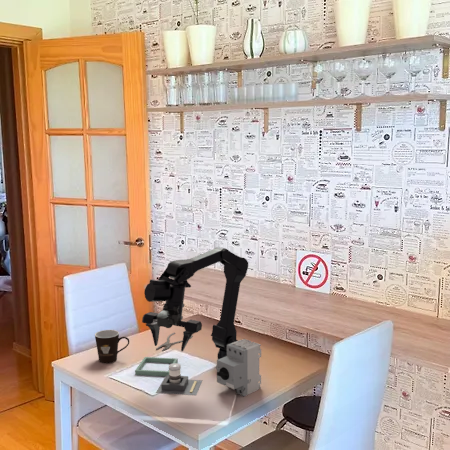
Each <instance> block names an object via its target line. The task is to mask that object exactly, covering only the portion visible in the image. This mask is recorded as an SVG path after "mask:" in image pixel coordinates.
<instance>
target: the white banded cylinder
mask: <svg viewBox="0 0 450 450" xmlns="http://www.w3.org/2000/svg"><path fill="white" fill-rule="evenodd" d="M168 370H169V383H173V384H181V376H182V375H181V374H182V373H181V370H182V367H181V364H180V363H179V362H178V363H173V364H172V363H169V365H168Z"/></svg>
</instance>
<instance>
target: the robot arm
mask: <svg viewBox="0 0 450 450" xmlns="http://www.w3.org/2000/svg"><path fill="white" fill-rule="evenodd" d="M217 263H220V264H221V265H223V274H224V277H225V286H224V287H225V288H224V293H223V299H222V305H221V312H220V319H219V321H218V322H217V323H216V324H213V326H212V330H211V334H210V336H211V341H212V342H213V344H214V346H215V348H218V352H217V360H218V359H221V358H223V357H226V356H227V345H228V344H231V343H233V342H236V341H239V340H238V338H237V329H236V326H235V317H236V311H237V305H238V298H239V294H240V293H239V292H240V287H241V282H242V281H243V280H244V278H246V276H247V273H248V269H249V262H248V260H247V259H246V258H245V257H242V256H239V255H236V254H235V253H233V252H231V251H230V250H229V249H227V248H225V247H220V246H217V247H214V248H213V249H211V250H209V251H206V252H203V253H201V254H198V255H196V256H193V257H191V258H187V259H177V260H176V259H175V260H172V261H169V262H168V264H167V267H166V268H165V270H164V271H163V272H162V274H161V275H160V276H159V277H158V279H149V283H148V284H147V285H146V286H145V289H144V298H145V300H146V301H147V302H149V303H150V302H151V303H152V302H165V303H163V307H162V310H160V312H152V311H150V312H147V313H145V314H143V315H142V320H141V323H143V324H145V326H146V327H148V328H149V329H150V332H151V335H152V340H153V344H154V346H155V347H156V346H158V343H159V337H160V331H161V330H160V329H161V327H162V328H163V327H164V328H166V329H171V328H173V326H175V327H180V328H184V331H182V332H183V333H182V335H183V337H182V340H183V341H182V340H181V341H182V342H181V345H180V346H181V349H180V352H184V350H185V348H186V347H187V344H188V343H189V341H190V340H191V339H190V337H191V336H193V335H194V334H196V333H198V332H200V331H202V326H203V323H202V321H200V320H196V319H189V320H187V321H186V320H185V321H184V320H183V318H184V316H183V308H184V307H185V303H184V300H185V292H186V288H191V287H192V285H191V284H190V283H189V281H188V280H189V279H190V278H192V277H193V276H194V275H195V273H196V272H198V271H201V270H203V269H205V268H207V267H211V265H212V266H213V265H214V264H217Z"/></svg>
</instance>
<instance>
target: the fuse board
mask: <svg viewBox="0 0 450 450" xmlns="http://www.w3.org/2000/svg"><path fill="white" fill-rule="evenodd" d="M202 383H203V380H201V379H189V376H188V375H187V376H186V375H181V384H173V383H169V375H167V376H164V378H163V379H162V381H161V382H160V385H159V386H158V389H157V390H156V392H155V393H156V394H167V395H182V396H183V395H185V396H197V394H198V393H199V390H200V388H201V386H202Z"/></svg>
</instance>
